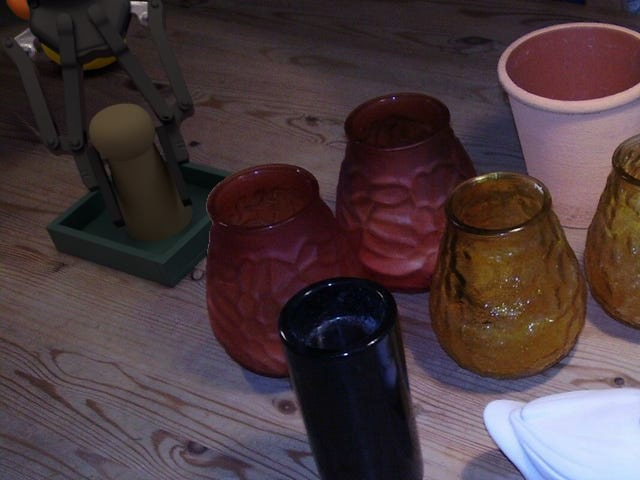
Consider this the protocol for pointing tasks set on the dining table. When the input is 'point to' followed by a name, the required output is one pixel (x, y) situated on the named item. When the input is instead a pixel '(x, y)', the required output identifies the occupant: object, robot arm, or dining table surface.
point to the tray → (132, 255)
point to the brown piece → (139, 173)
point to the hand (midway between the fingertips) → (153, 212)
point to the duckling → (20, 8)
